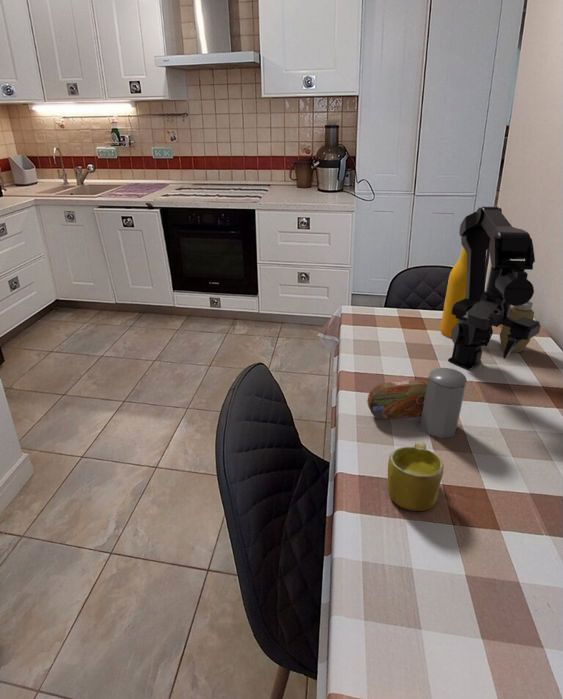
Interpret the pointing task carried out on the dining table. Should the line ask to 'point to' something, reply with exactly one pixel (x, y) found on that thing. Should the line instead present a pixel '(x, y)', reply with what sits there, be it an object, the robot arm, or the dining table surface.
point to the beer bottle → (454, 293)
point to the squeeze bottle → (516, 314)
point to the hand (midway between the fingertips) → (486, 350)
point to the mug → (414, 477)
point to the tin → (397, 399)
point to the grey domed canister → (443, 402)
